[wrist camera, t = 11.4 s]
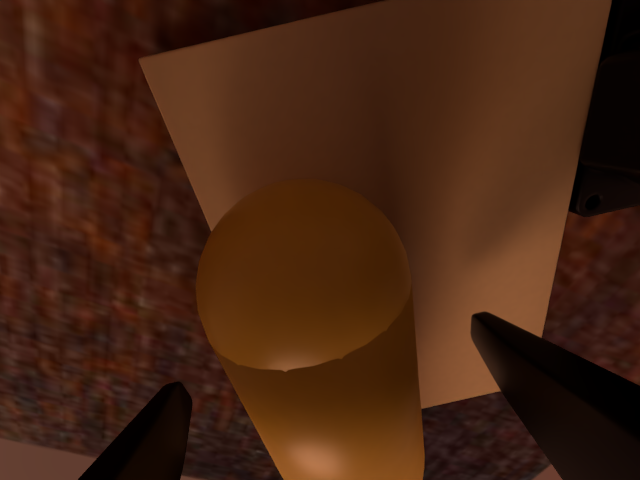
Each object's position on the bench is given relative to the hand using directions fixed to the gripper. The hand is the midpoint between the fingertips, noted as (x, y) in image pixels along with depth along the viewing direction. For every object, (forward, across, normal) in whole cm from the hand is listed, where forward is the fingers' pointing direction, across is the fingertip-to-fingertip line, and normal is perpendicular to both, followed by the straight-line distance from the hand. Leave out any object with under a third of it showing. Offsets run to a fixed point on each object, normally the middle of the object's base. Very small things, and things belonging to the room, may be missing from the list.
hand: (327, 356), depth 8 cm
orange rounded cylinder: (+2, 0, +1) cm, 2 cm away
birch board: (+2, -3, -1) cm, 4 cm away
